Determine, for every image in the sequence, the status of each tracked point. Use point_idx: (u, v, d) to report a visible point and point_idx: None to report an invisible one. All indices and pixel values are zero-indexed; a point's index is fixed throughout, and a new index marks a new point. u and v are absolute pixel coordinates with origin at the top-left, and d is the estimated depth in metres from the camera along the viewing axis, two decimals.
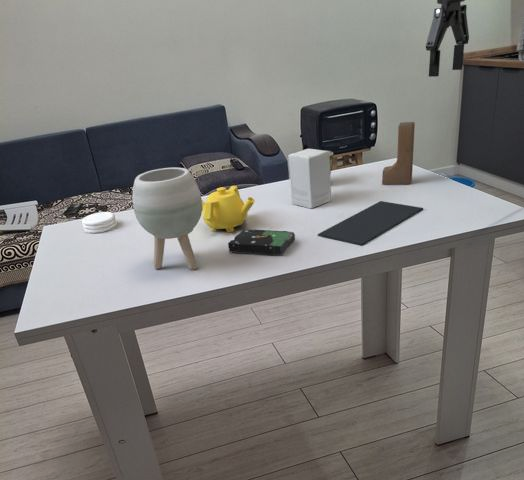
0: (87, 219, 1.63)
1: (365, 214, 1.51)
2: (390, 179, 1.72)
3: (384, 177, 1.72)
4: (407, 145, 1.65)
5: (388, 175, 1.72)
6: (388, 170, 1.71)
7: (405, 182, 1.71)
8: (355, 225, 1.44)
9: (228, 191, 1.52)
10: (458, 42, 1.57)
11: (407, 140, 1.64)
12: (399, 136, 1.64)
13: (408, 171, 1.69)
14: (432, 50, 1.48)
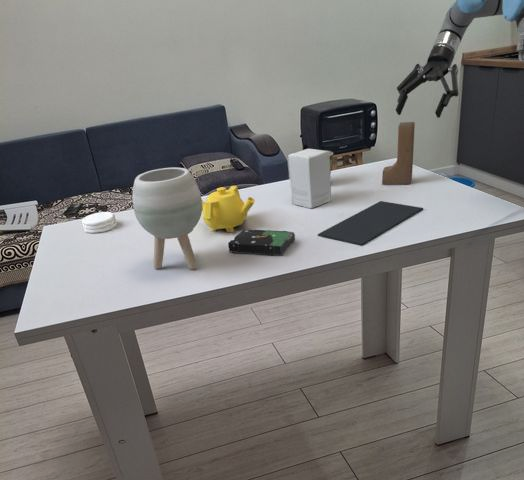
0: (87, 219, 1.63)
1: (365, 214, 1.51)
2: (390, 179, 1.72)
3: (384, 177, 1.72)
4: (407, 145, 1.65)
5: (388, 175, 1.72)
6: (388, 170, 1.71)
7: (405, 182, 1.71)
8: (355, 225, 1.44)
9: (228, 191, 1.52)
10: None
11: (407, 140, 1.64)
12: (399, 136, 1.64)
13: (408, 171, 1.69)
14: None
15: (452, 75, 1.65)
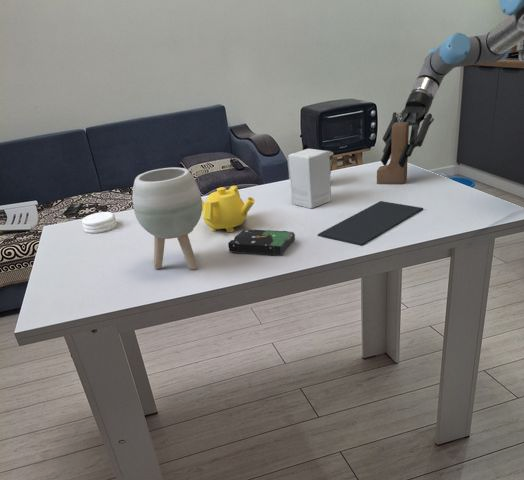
0: (87, 219, 1.63)
1: (365, 214, 1.51)
2: (384, 179, 1.73)
3: (378, 176, 1.74)
4: (400, 145, 1.66)
5: (382, 174, 1.73)
6: (382, 169, 1.72)
7: (399, 182, 1.72)
8: (355, 225, 1.44)
9: (228, 191, 1.52)
10: None
11: (400, 140, 1.65)
12: (392, 136, 1.65)
13: (402, 170, 1.70)
14: None
15: (423, 124, 1.64)
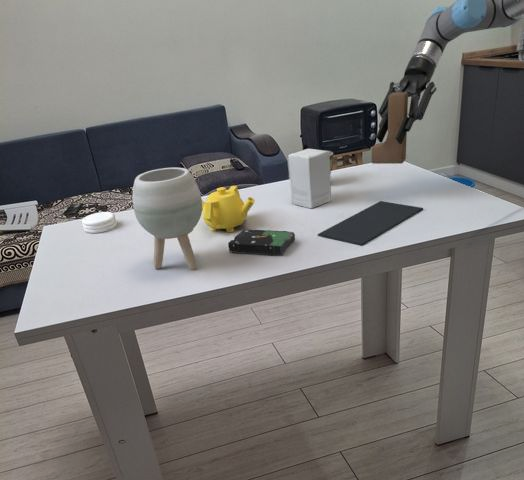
0: (87, 219, 1.63)
1: (365, 214, 1.51)
2: (380, 158, 1.53)
3: (373, 155, 1.53)
4: (398, 118, 1.46)
5: (378, 153, 1.52)
6: (378, 147, 1.52)
7: (397, 161, 1.52)
8: (355, 225, 1.44)
9: (228, 191, 1.52)
10: None
11: (398, 112, 1.45)
12: (389, 108, 1.45)
13: (400, 148, 1.49)
14: None
15: (424, 94, 1.44)
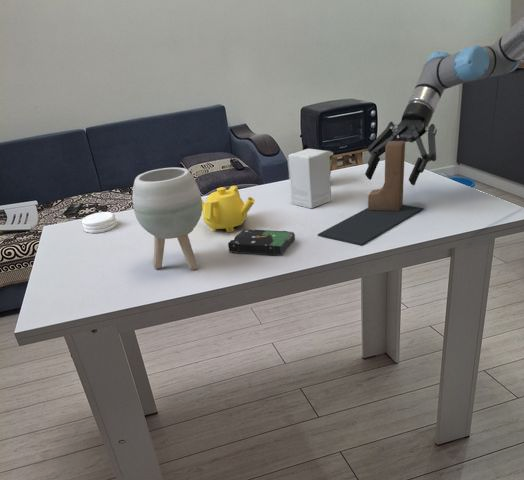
0: (87, 219, 1.63)
1: (365, 214, 1.51)
2: (377, 205, 1.51)
3: (370, 202, 1.52)
4: (395, 167, 1.44)
5: (374, 200, 1.51)
6: (374, 194, 1.50)
7: (393, 208, 1.50)
8: (355, 225, 1.44)
9: (228, 191, 1.52)
10: None
11: (395, 162, 1.43)
12: (386, 157, 1.44)
13: (397, 196, 1.48)
14: None
15: (429, 137, 1.41)
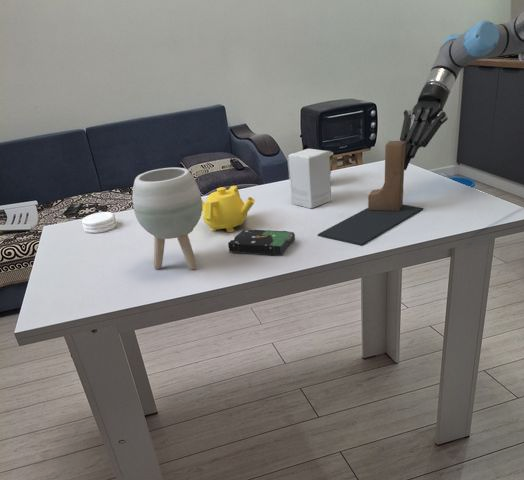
0: (87, 219, 1.63)
1: (365, 214, 1.51)
2: (377, 205, 1.51)
3: (370, 202, 1.52)
4: (395, 167, 1.44)
5: (374, 200, 1.51)
6: (374, 194, 1.50)
7: (393, 208, 1.50)
8: (355, 225, 1.44)
9: (228, 191, 1.52)
10: None
11: (395, 162, 1.43)
12: (386, 157, 1.44)
13: (397, 196, 1.48)
14: None
15: (433, 123, 1.46)
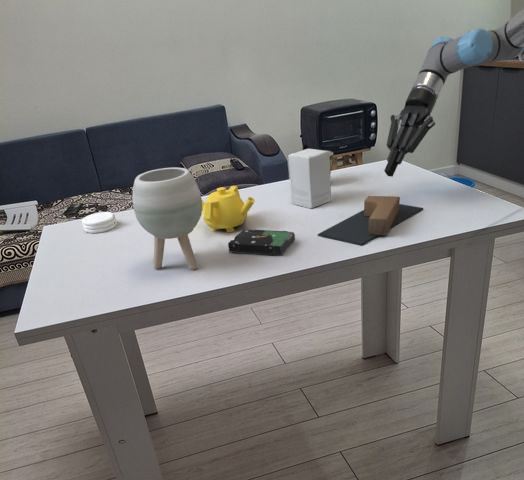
0: (87, 219, 1.63)
1: None
2: None
3: None
4: None
5: None
6: (370, 216, 1.49)
7: None
8: (355, 225, 1.44)
9: (228, 191, 1.52)
10: None
11: None
12: None
13: None
14: (391, 150, 1.47)
15: (420, 128, 1.42)
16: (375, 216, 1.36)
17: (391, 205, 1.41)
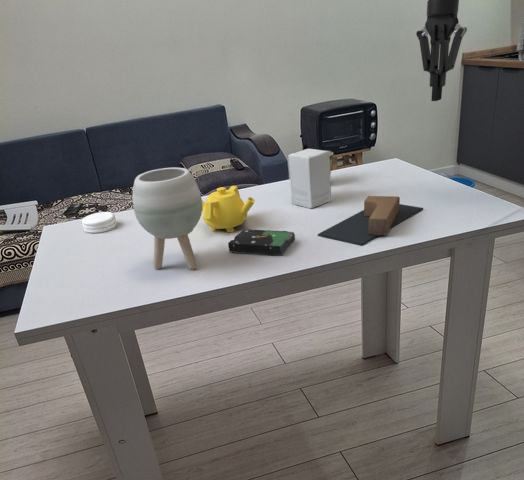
0: (87, 219, 1.63)
1: None
2: None
3: None
4: None
5: None
6: (370, 216, 1.49)
7: None
8: (355, 225, 1.44)
9: (228, 191, 1.52)
10: None
11: None
12: None
13: None
14: None
15: (452, 44, 1.35)
16: (375, 216, 1.36)
17: (391, 205, 1.41)
